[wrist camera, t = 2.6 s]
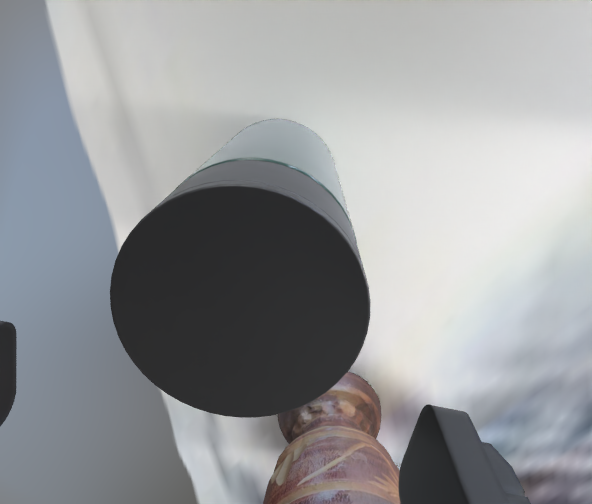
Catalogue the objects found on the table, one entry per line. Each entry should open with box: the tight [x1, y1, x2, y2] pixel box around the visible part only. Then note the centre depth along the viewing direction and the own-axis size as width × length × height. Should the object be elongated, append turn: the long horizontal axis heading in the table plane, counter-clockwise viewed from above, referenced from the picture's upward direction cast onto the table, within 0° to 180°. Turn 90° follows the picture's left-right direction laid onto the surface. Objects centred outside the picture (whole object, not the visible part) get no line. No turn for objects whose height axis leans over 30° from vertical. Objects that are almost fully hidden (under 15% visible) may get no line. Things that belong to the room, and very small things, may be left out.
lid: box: [110, 160, 370, 417], centre depth 14 cm, size 7×7×3 cm
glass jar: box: [176, 119, 357, 243], centre depth 21 cm, size 7×7×16 cm
